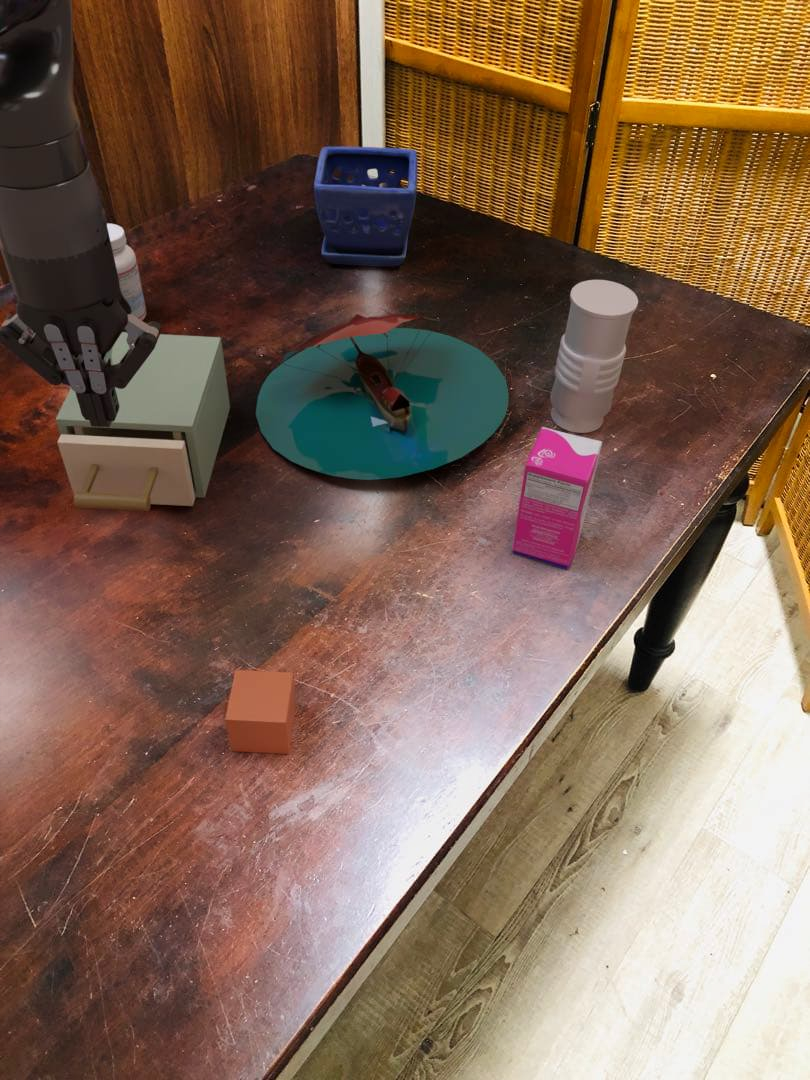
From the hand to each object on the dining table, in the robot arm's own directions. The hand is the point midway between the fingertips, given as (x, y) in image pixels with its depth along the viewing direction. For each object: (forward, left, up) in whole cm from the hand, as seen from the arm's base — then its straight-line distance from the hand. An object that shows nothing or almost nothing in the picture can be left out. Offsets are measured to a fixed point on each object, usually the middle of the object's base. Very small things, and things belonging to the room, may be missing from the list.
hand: (104, 420), depth 75 cm
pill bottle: (-10, +35, -13) cm, 39 cm away
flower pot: (+19, +55, -13) cm, 60 cm away
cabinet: (0, +11, -13) cm, 17 cm away
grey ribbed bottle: (+45, +20, -13) cm, 51 cm away
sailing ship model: (+23, +20, -13) cm, 33 cm away
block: (+16, -22, -13) cm, 30 cm away
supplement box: (+40, 0, -13) cm, 42 cm away
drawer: (0, +6, -12) cm, 13 cm away
